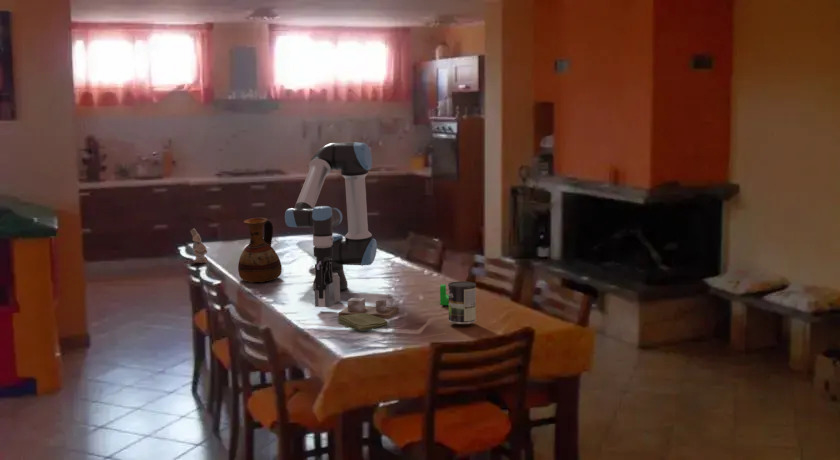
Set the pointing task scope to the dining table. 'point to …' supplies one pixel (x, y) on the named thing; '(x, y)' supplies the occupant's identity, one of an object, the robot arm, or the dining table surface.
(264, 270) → the ceramic pitcher
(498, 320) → the dining table surface
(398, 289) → the dining table surface
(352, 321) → the washcloth
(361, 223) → the robot arm
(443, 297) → the mechanical part
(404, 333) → the dining table surface
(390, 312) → the board
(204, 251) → the figurine
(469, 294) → the coffee can
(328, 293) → the dark grey block
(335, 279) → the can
